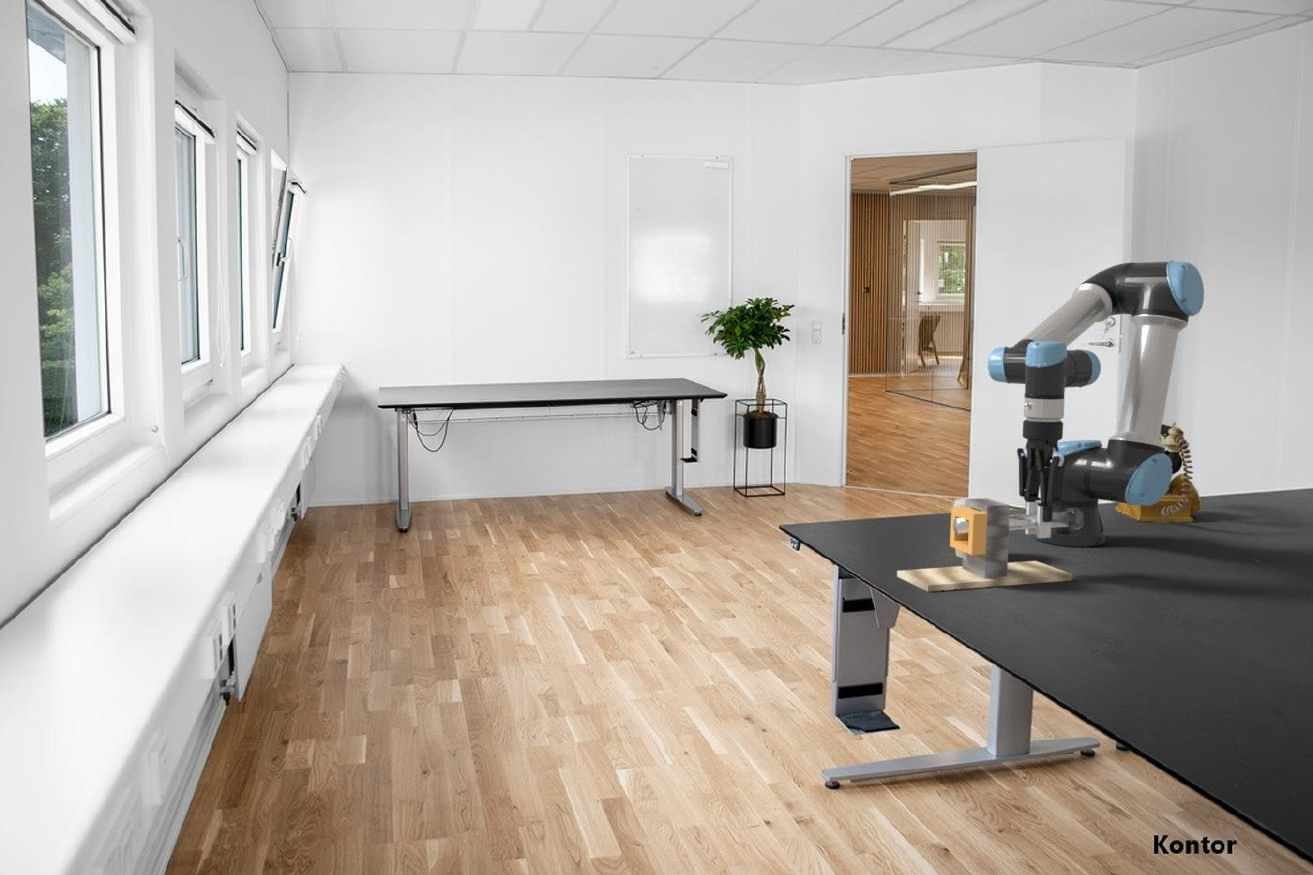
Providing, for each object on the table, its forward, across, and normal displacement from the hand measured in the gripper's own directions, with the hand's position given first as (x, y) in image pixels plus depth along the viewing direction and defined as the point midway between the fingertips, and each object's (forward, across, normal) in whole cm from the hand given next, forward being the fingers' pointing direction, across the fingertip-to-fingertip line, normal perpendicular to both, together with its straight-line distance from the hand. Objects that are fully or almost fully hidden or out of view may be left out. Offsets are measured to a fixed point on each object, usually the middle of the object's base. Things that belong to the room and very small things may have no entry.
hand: (1037, 535), depth 223 cm
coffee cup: (+8, -18, -3) cm, 20 cm away
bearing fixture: (+8, 0, -12) cm, 14 cm away
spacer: (+2, 0, -16) cm, 16 cm away
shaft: (-1, 0, -5) cm, 5 cm away
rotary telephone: (+8, -40, +67) cm, 78 cm away
